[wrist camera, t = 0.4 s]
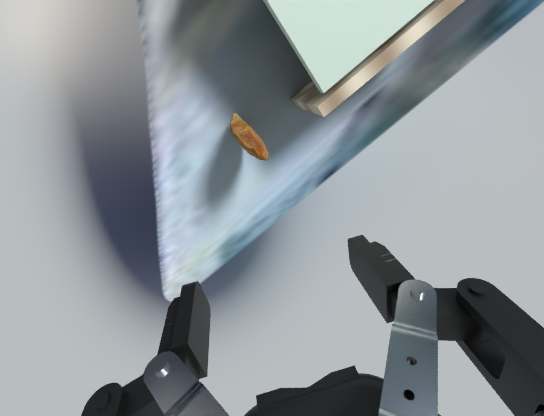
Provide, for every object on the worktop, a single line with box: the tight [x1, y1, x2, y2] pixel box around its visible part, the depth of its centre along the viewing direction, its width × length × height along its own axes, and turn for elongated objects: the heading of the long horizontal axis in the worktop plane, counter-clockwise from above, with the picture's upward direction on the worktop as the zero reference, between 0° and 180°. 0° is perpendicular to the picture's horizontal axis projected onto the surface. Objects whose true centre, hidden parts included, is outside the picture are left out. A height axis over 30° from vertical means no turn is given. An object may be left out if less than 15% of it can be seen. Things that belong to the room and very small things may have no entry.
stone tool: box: [230, 113, 269, 160], centre depth 27 cm, size 5×2×15 cm, turn 39°
